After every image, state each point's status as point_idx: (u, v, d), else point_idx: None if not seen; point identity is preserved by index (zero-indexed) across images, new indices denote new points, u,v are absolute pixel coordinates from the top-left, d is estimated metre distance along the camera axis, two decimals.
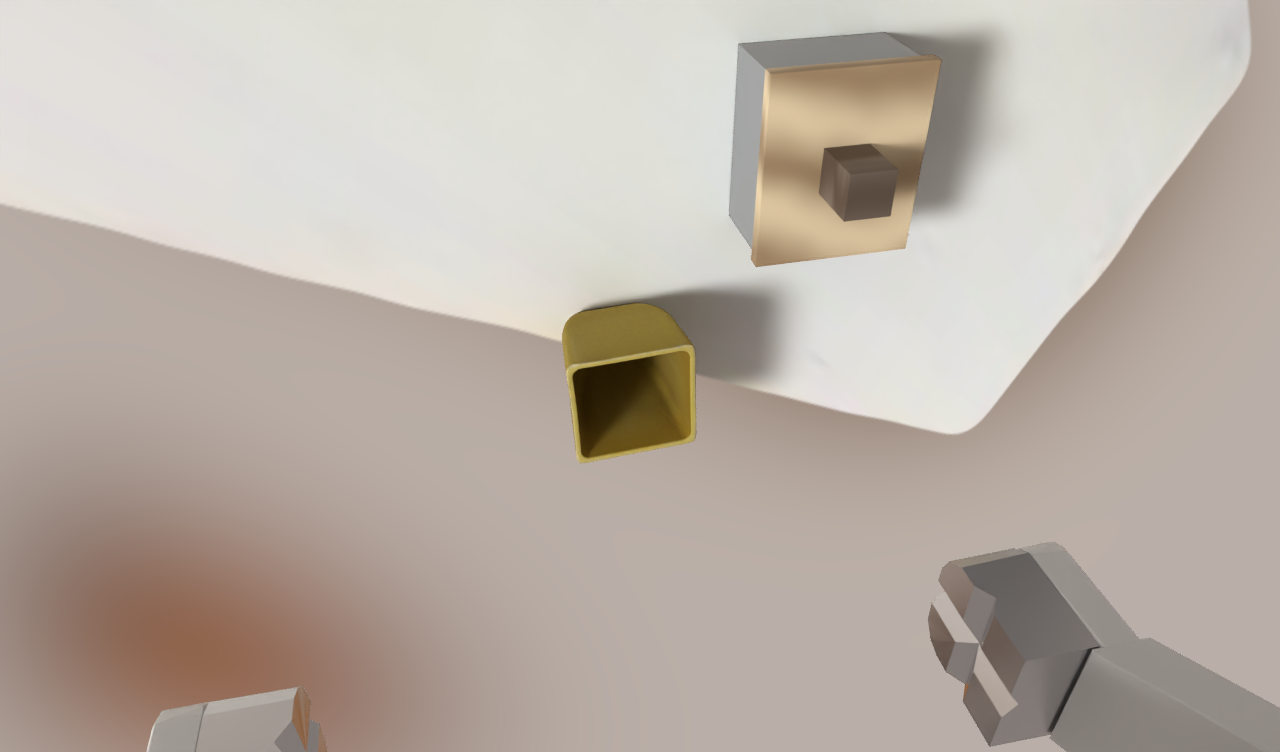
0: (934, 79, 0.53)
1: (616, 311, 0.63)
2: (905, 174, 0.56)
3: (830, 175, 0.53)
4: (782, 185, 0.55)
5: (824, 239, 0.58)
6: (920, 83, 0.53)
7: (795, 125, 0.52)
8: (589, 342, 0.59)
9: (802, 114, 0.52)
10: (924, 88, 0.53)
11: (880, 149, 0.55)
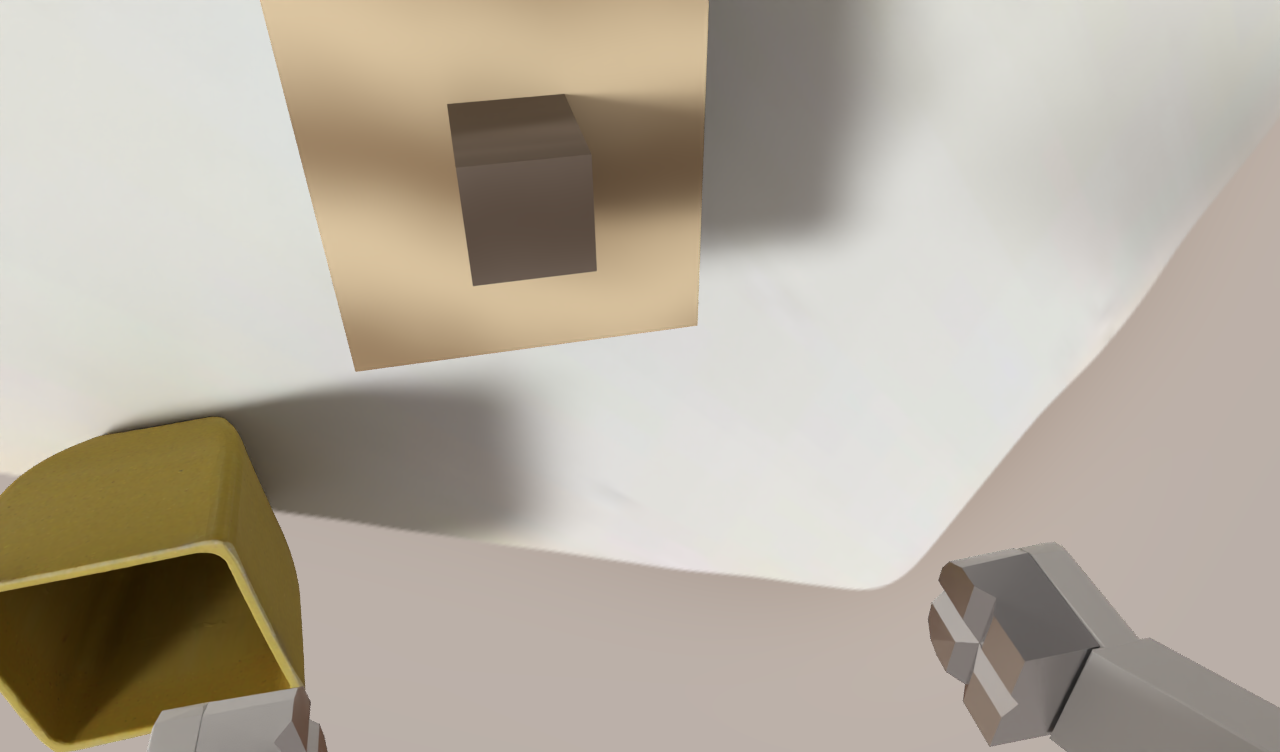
0: None
1: (146, 441, 0.32)
2: (669, 168, 0.25)
3: None
4: (363, 195, 0.23)
5: (505, 311, 0.26)
6: None
7: (351, 44, 0.21)
8: (19, 527, 0.28)
9: (362, 15, 0.21)
10: None
11: (594, 108, 0.23)
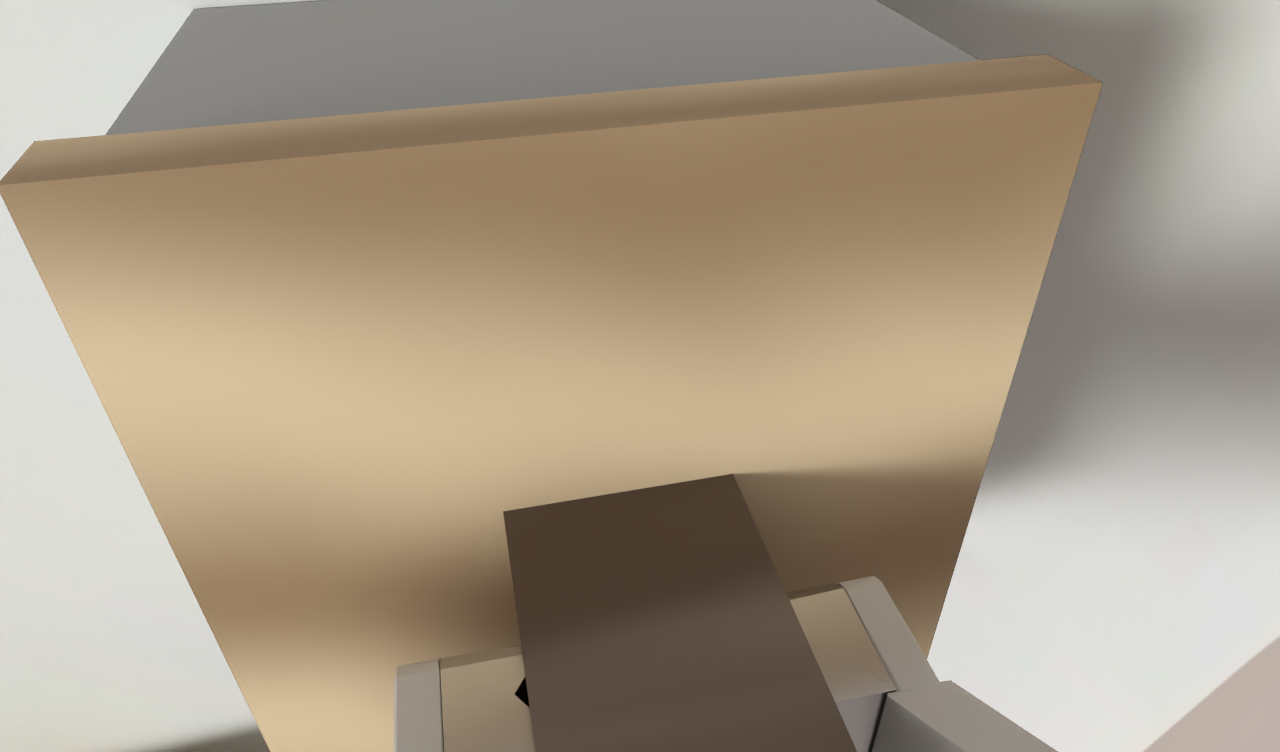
0: (1054, 186, 0.10)
1: None
2: (901, 557, 0.13)
3: None
4: (335, 657, 0.12)
5: None
6: (980, 208, 0.10)
7: (305, 437, 0.10)
8: None
9: (327, 387, 0.09)
10: (998, 231, 0.10)
11: (786, 490, 0.12)
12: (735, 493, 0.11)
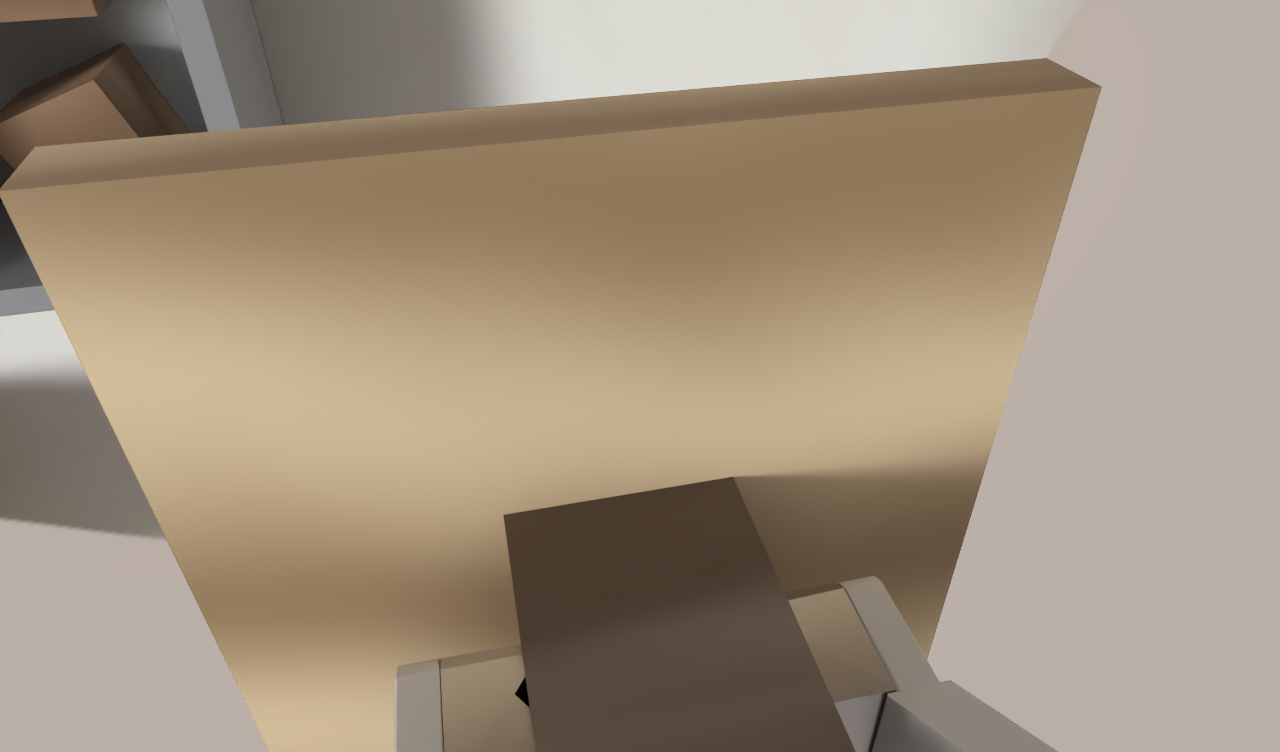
0: (1053, 190, 0.10)
1: None
2: (901, 559, 0.13)
3: None
4: (336, 660, 0.12)
5: None
6: (979, 212, 0.10)
7: (306, 441, 0.10)
8: None
9: (328, 391, 0.09)
10: (998, 234, 0.10)
11: (786, 493, 0.12)
12: (735, 496, 0.11)
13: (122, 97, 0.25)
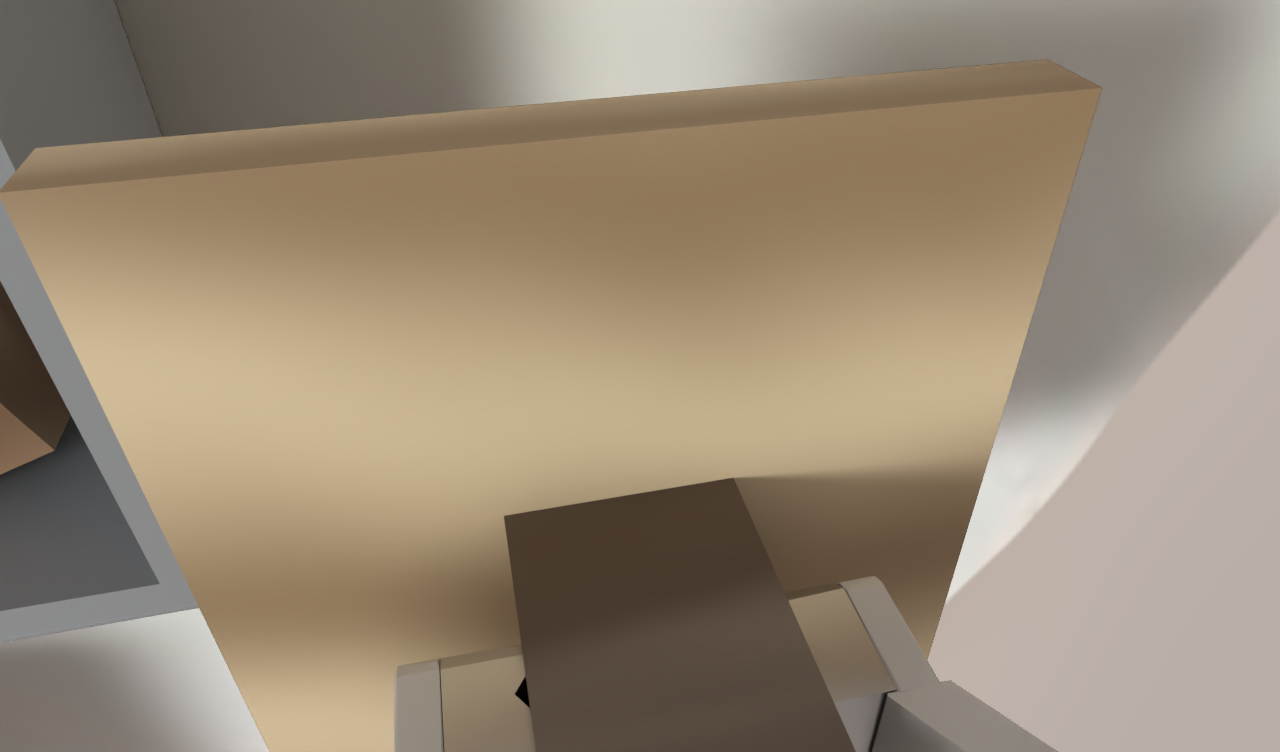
0: (1054, 191, 0.10)
1: None
2: (901, 560, 0.13)
3: None
4: (336, 662, 0.12)
5: None
6: (980, 213, 0.10)
7: (306, 443, 0.10)
8: None
9: (328, 393, 0.09)
10: (998, 235, 0.10)
11: (786, 494, 0.12)
12: (735, 497, 0.11)
13: None
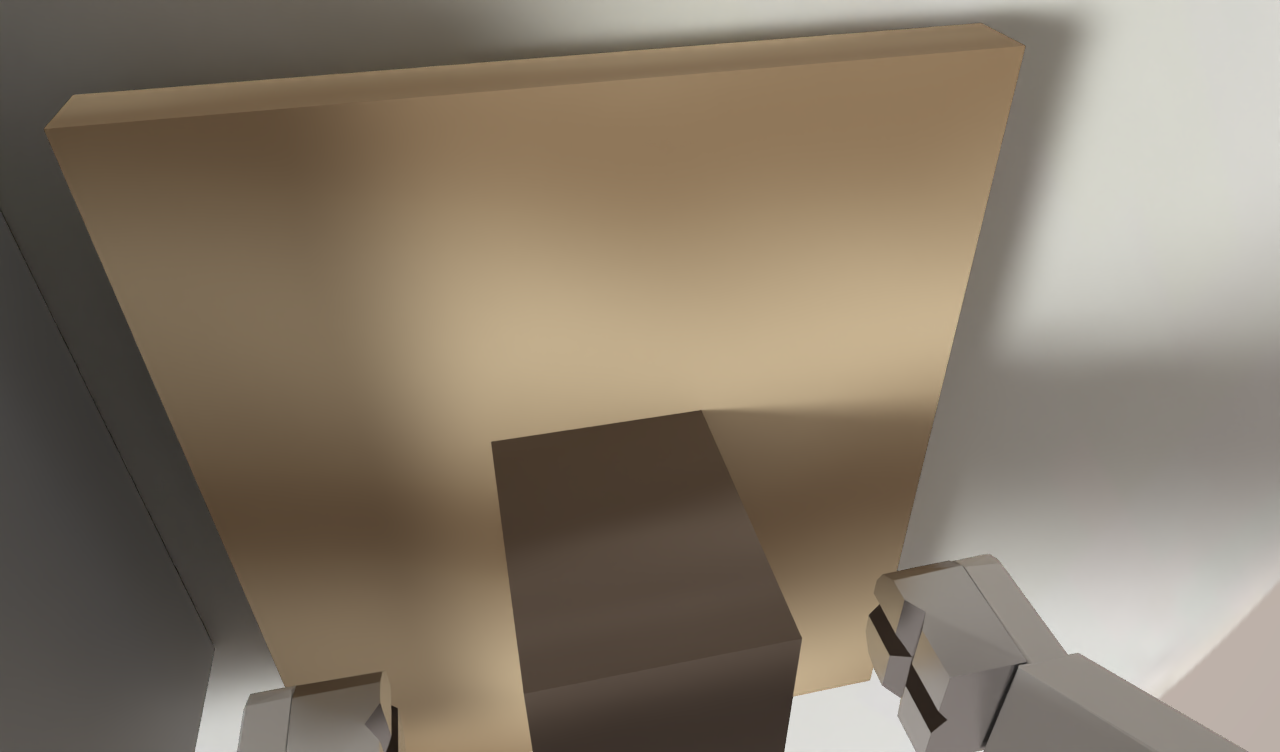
0: (986, 142, 0.11)
1: None
2: (862, 495, 0.14)
3: None
4: (339, 580, 0.13)
5: None
6: (919, 161, 0.11)
7: (311, 367, 0.11)
8: None
9: (331, 319, 0.10)
10: (938, 182, 0.11)
11: (751, 427, 0.13)
12: (702, 426, 0.12)
13: None
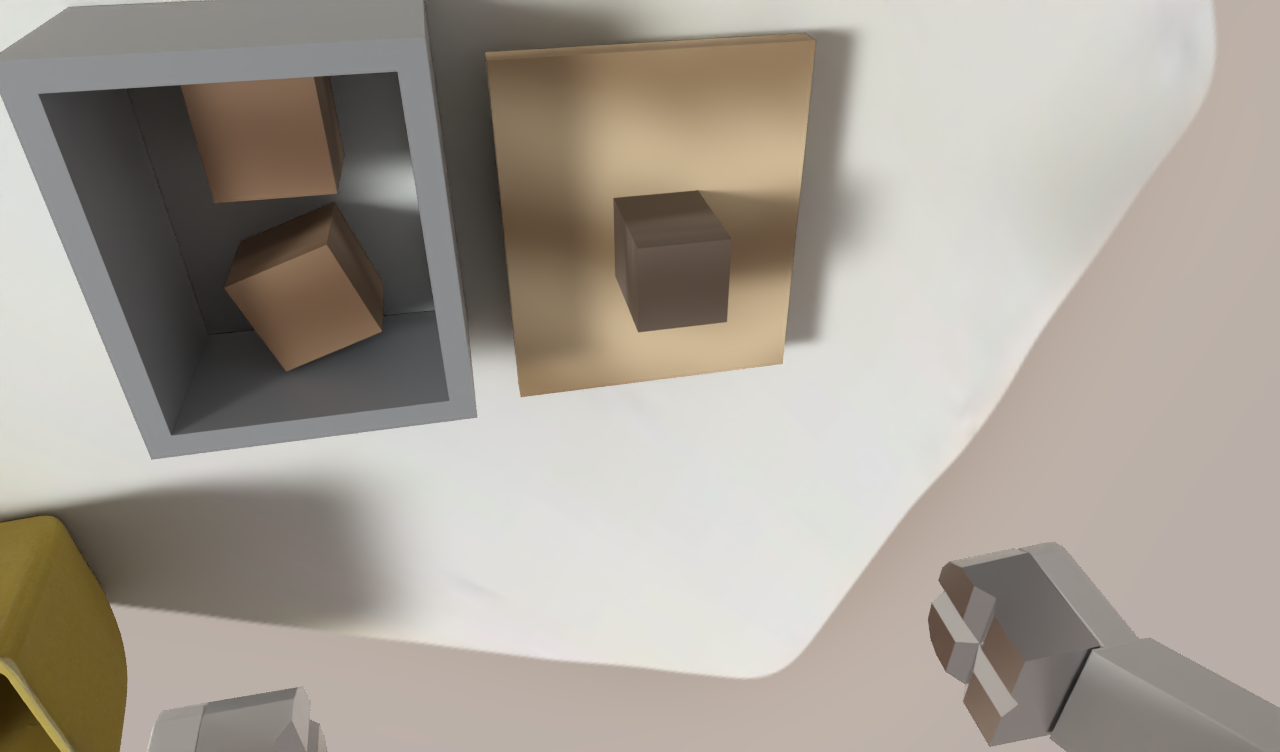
0: (806, 77, 0.29)
1: None
2: (769, 243, 0.32)
3: (621, 246, 0.30)
4: (545, 263, 0.31)
5: (637, 351, 0.34)
6: (780, 83, 0.29)
7: (552, 157, 0.29)
8: None
9: (562, 137, 0.28)
10: (788, 92, 0.29)
11: (719, 200, 0.31)
12: (698, 194, 0.30)
13: (342, 254, 0.29)
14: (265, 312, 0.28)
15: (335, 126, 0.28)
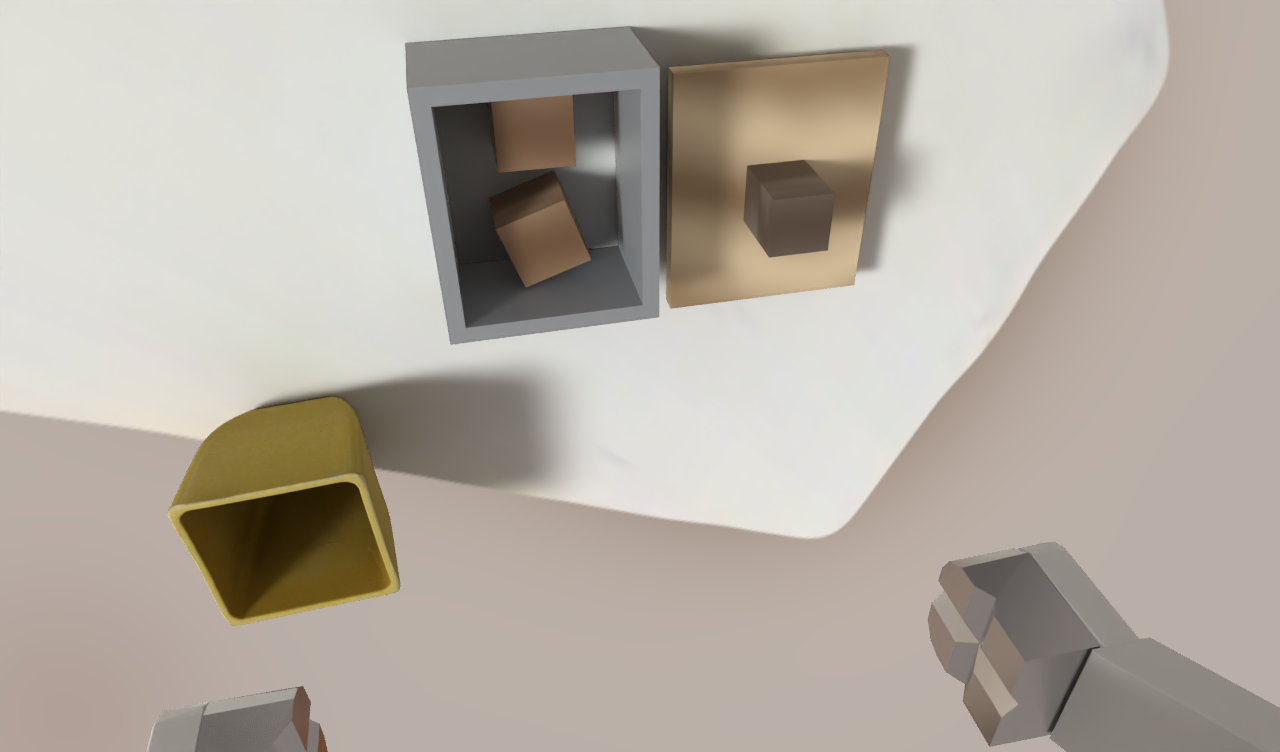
0: (882, 80, 0.42)
1: (290, 412, 0.46)
2: (850, 197, 0.46)
3: (754, 199, 0.43)
4: (697, 211, 0.44)
5: (753, 275, 0.47)
6: (864, 85, 0.42)
7: (709, 137, 0.42)
8: (220, 466, 0.42)
9: (717, 124, 0.42)
10: (869, 91, 0.43)
11: (818, 166, 0.44)
12: (805, 162, 0.44)
13: (568, 206, 0.42)
14: (518, 246, 0.42)
15: None
